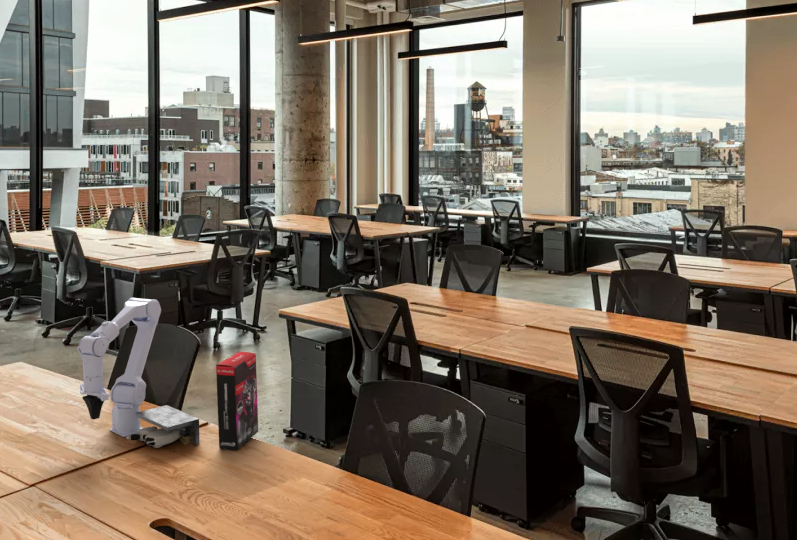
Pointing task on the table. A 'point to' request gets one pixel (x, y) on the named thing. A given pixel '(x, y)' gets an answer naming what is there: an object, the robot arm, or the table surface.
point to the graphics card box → (237, 400)
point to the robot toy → (155, 436)
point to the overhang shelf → (173, 422)
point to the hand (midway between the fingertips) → (95, 418)
